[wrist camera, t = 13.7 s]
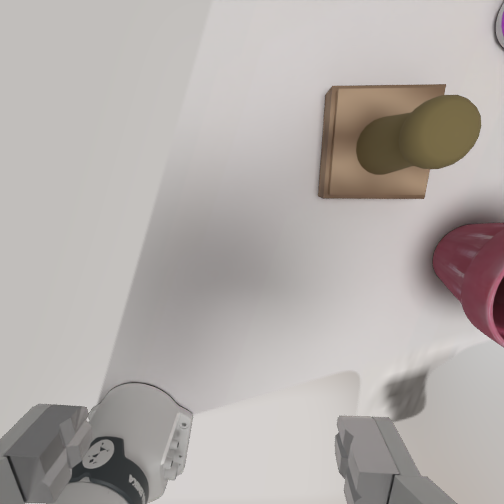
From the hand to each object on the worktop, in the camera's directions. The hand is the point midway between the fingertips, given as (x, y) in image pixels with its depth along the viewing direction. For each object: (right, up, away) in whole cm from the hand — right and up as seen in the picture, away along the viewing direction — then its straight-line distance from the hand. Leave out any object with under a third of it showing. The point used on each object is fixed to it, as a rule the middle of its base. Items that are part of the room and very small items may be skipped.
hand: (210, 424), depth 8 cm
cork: (+16, +17, +21) cm, 31 cm away
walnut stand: (+16, +19, +24) cm, 34 cm away
